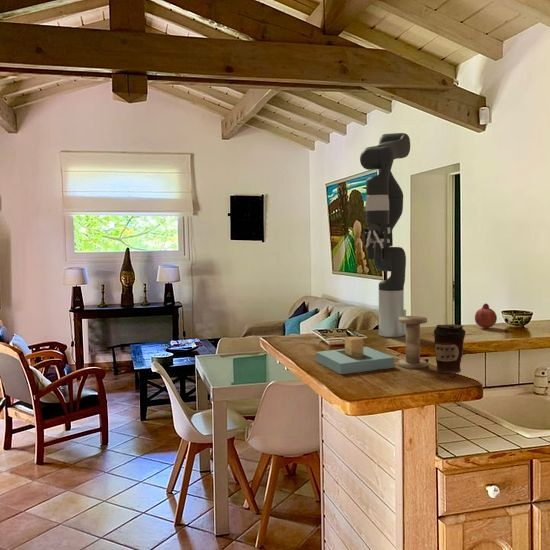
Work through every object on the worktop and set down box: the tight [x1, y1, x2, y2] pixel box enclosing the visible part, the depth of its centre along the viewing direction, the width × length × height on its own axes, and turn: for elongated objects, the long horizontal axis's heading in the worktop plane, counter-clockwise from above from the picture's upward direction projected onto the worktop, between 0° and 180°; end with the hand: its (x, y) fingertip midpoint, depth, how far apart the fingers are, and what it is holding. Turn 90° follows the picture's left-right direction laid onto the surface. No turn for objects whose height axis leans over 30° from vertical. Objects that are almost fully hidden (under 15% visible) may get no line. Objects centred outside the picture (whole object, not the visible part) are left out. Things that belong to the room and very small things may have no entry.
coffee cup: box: [433, 323, 466, 374], centre depth 150 cm, size 9×8×13 cm
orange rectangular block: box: [344, 336, 364, 360], centre depth 160 cm, size 4×4×8 cm
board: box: [315, 346, 396, 375], centre depth 160 cm, size 18×16×3 cm
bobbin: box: [398, 315, 428, 370], centre depth 158 cm, size 8×8×14 cm
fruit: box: [474, 303, 498, 329], centre depth 212 cm, size 8×8×10 cm
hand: (377, 259), depth 176 cm, fingers open, 8 cm apart
